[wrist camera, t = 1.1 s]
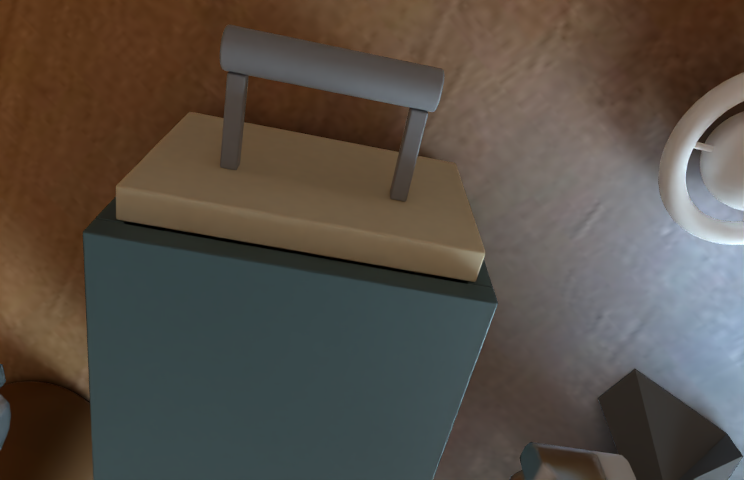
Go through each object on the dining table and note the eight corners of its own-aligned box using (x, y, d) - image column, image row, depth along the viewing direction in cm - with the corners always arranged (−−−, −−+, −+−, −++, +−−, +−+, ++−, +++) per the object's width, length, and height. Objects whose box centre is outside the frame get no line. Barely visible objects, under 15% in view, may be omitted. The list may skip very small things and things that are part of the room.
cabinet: (179, 128, 26) (81, 231, 17) (459, 181, 27) (499, 303, 18) (168, 391, 33) (95, 555, 25) (387, 424, 34) (391, 592, 26)
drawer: (194, -9, 22) (112, 23, 15) (487, 53, 23) (535, 109, 16) (175, 372, 31) (118, 501, 24) (386, 405, 32) (389, 537, 25)
